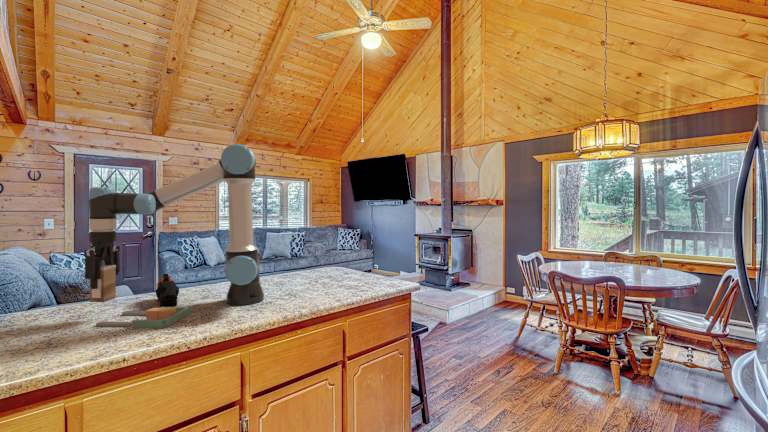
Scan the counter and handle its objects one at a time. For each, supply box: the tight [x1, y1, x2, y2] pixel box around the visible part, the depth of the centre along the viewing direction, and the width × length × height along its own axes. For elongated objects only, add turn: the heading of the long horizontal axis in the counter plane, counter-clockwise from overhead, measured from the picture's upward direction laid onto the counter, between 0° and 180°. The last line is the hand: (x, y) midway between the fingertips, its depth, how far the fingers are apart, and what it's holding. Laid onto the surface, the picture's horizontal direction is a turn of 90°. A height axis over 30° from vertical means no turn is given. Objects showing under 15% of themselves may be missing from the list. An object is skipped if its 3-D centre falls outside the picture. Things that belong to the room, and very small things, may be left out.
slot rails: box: [95, 310, 147, 328], centre depth 127 cm, size 12×14×1 cm
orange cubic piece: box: [145, 307, 163, 320], centre depth 127 cm, size 4×4×4 cm
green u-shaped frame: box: [131, 306, 192, 329], centre depth 127 cm, size 11×16×2 cm
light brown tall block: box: [88, 264, 117, 303], centre depth 126 cm, size 5×6×12 cm
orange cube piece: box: [158, 308, 176, 320], centre depth 127 cm, size 4×4×4 cm
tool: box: [155, 273, 180, 308], centre depth 147 cm, size 8×23×15 cm, turn 34°
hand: (103, 295), depth 126 cm, fingers closed on light brown tall block, 5 cm apart
